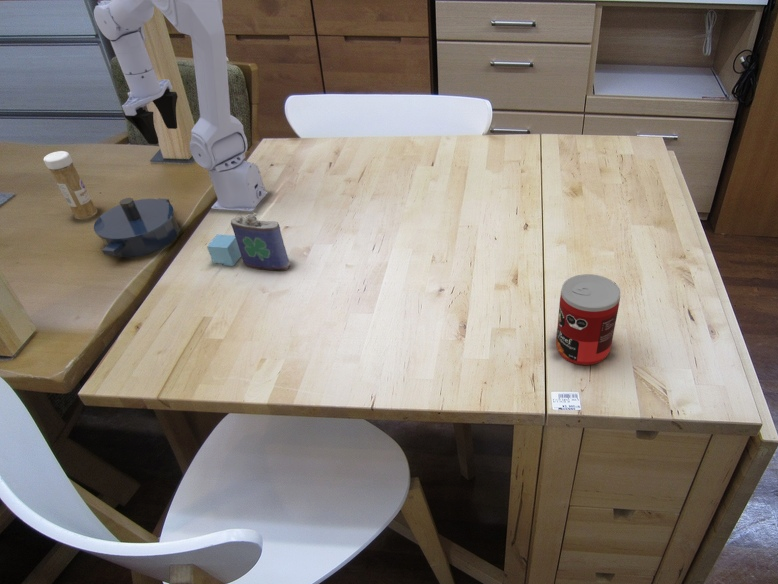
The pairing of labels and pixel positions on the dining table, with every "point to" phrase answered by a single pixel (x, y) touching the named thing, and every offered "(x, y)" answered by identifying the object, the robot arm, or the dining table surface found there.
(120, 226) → the lid
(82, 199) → the sprinkles bottle
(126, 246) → the pot
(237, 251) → the blue cube
